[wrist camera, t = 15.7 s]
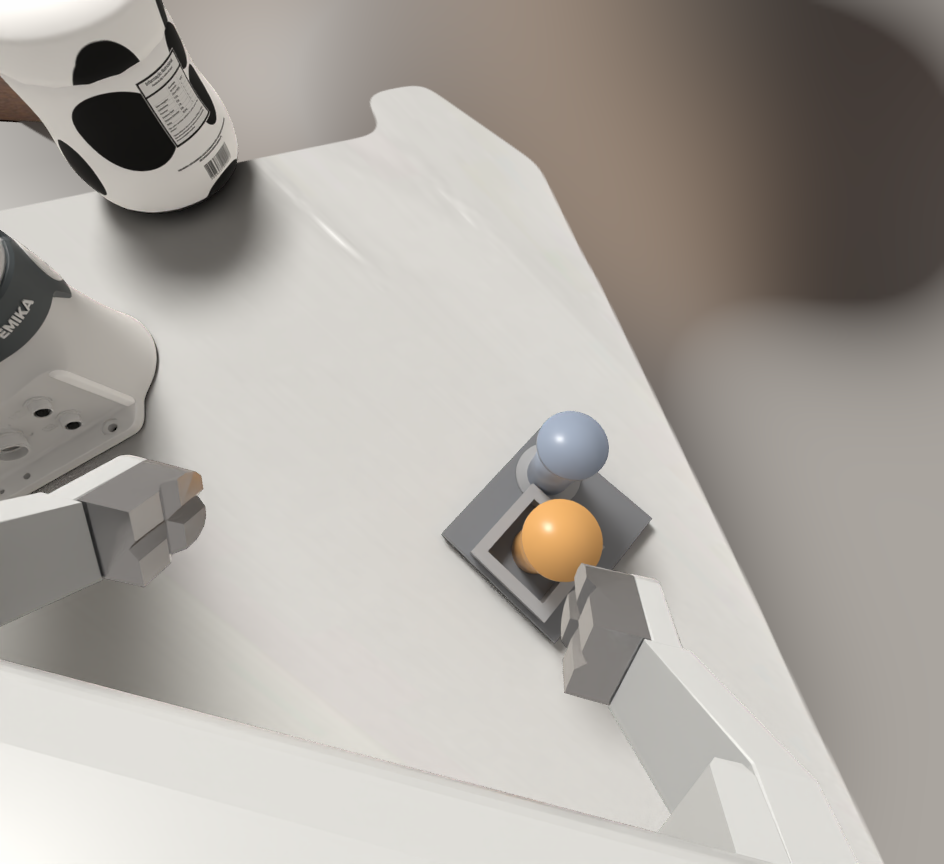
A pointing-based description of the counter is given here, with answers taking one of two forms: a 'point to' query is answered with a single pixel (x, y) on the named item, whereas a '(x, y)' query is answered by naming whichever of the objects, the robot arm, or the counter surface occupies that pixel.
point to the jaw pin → (558, 540)
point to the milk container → (120, 99)
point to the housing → (523, 489)
